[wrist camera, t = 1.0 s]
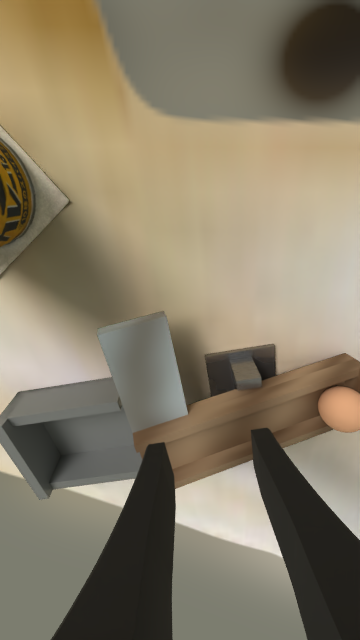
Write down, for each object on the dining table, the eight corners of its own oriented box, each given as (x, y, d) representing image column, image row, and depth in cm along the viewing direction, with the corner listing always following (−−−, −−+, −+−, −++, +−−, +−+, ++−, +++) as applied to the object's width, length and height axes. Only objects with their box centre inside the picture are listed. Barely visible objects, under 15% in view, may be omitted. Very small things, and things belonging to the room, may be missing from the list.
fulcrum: (273, 343, 19) (288, 366, 17) (275, 426, 23) (287, 455, 20) (204, 354, 19) (209, 379, 17) (217, 434, 23) (222, 464, 21)
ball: (331, 371, 19) (379, 389, 17) (328, 402, 21) (373, 422, 18) (310, 394, 18) (361, 416, 16) (308, 425, 19) (355, 450, 17)
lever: (356, 259, 16) (393, 267, 14) (339, 403, 22) (365, 425, 19) (97, 328, 14) (96, 350, 12) (149, 472, 19) (154, 506, 17)
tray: (124, 375, 20) (115, 409, 17) (148, 446, 24) (144, 486, 20) (18, 392, 21) (-11, 428, 17) (57, 459, 24) (39, 499, 21)
